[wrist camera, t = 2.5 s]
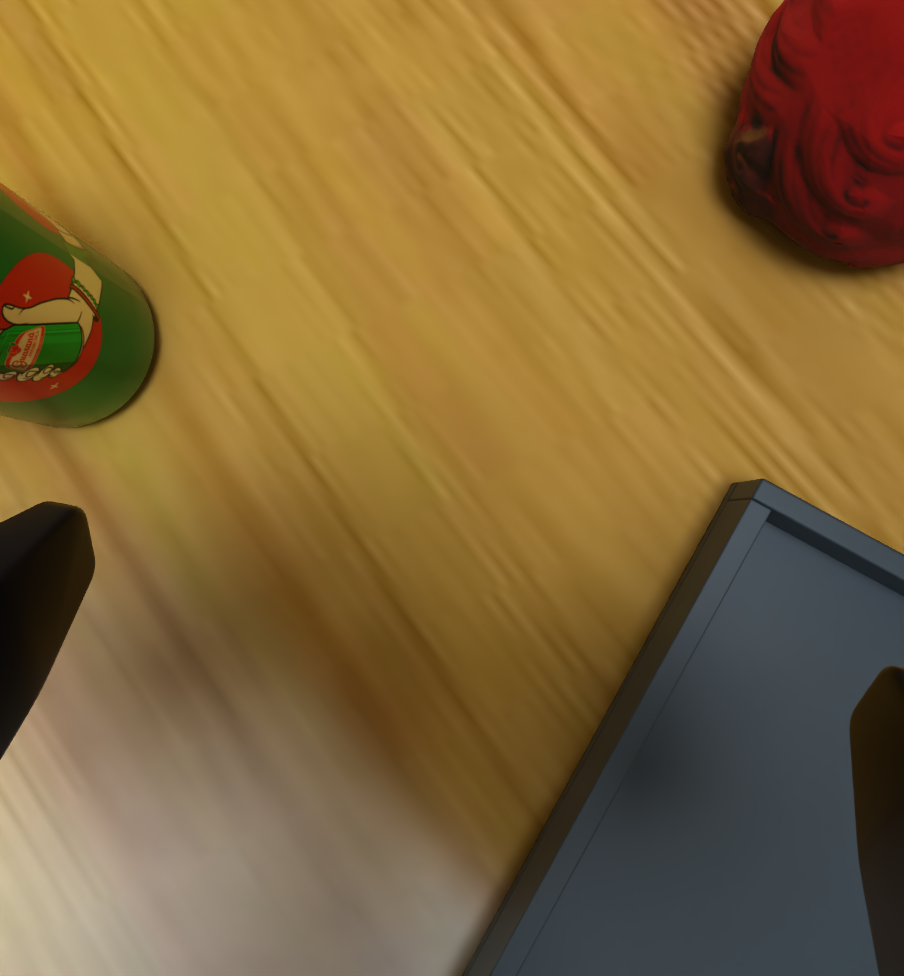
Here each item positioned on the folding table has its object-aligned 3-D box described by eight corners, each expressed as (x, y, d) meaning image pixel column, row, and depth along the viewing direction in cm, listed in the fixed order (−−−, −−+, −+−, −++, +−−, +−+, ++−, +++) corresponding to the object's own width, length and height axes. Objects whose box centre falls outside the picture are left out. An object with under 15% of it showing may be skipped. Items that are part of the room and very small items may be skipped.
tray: (824, 1433, 22) (868, 1547, 20) (363, 1154, 23) (349, 1231, 20) (1196, 735, 23) (1284, 761, 20) (732, 482, 23) (762, 477, 21)
